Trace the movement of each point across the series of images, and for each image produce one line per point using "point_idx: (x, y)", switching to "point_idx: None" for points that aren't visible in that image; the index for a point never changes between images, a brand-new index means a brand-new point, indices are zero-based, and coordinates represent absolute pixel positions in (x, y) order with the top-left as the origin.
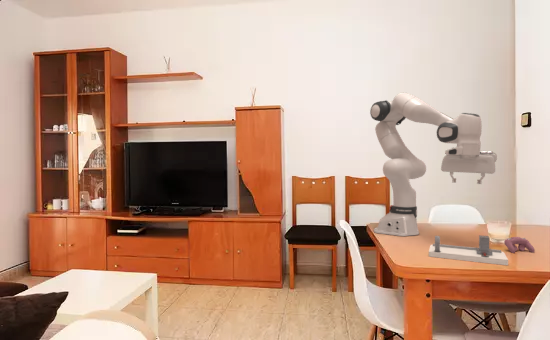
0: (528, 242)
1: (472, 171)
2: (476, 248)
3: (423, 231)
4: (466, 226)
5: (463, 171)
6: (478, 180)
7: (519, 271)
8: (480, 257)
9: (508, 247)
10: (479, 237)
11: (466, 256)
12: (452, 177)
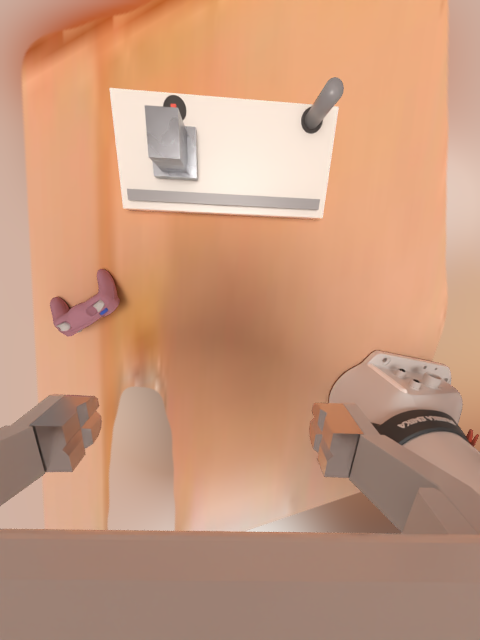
0: (55, 316)
1: (22, 566)
2: (195, 160)
3: None
4: (209, 518)
5: (260, 550)
6: (56, 420)
7: (86, 27)
8: (188, 95)
9: (112, 283)
10: (180, 139)
11: (228, 99)
12: (389, 446)
